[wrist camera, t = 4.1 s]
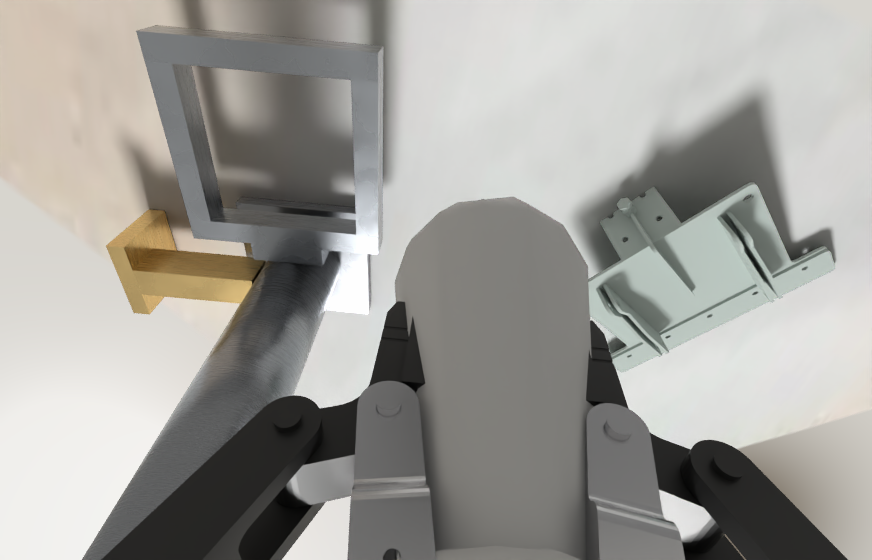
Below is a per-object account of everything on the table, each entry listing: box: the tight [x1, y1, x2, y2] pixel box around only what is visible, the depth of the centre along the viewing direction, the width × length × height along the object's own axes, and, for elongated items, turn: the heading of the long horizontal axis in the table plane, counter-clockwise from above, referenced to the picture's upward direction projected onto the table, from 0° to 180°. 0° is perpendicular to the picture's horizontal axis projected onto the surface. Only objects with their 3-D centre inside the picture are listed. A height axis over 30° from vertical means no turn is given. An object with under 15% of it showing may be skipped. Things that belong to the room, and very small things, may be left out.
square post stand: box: [82, 25, 383, 560], centre depth 19 cm, size 15×18×22 cm
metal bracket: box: [588, 182, 835, 372], centre depth 30 cm, size 14×6×15 cm
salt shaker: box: [395, 197, 594, 560], centre depth 11 cm, size 6×6×13 cm
